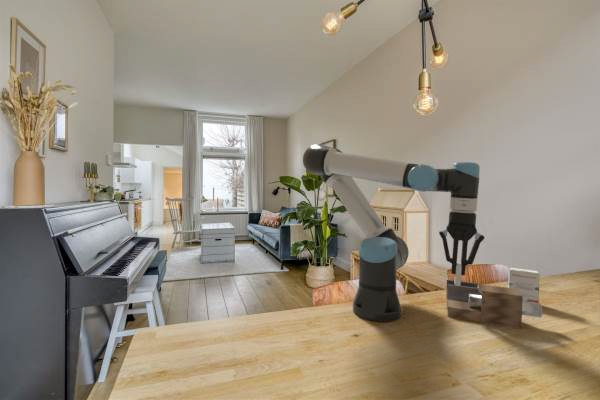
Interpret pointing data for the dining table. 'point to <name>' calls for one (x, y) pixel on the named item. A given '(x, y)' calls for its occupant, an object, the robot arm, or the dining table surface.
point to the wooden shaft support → (491, 307)
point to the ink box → (525, 283)
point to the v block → (460, 290)
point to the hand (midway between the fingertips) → (457, 284)
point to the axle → (527, 307)
